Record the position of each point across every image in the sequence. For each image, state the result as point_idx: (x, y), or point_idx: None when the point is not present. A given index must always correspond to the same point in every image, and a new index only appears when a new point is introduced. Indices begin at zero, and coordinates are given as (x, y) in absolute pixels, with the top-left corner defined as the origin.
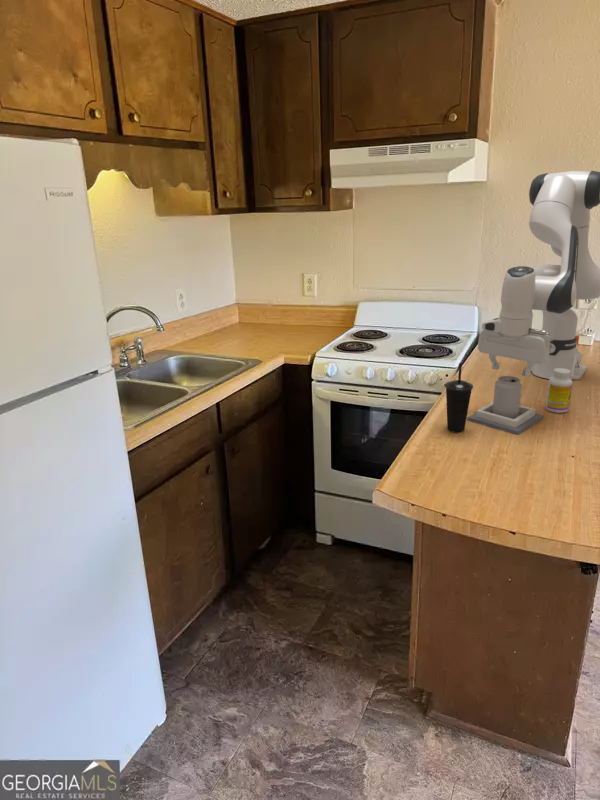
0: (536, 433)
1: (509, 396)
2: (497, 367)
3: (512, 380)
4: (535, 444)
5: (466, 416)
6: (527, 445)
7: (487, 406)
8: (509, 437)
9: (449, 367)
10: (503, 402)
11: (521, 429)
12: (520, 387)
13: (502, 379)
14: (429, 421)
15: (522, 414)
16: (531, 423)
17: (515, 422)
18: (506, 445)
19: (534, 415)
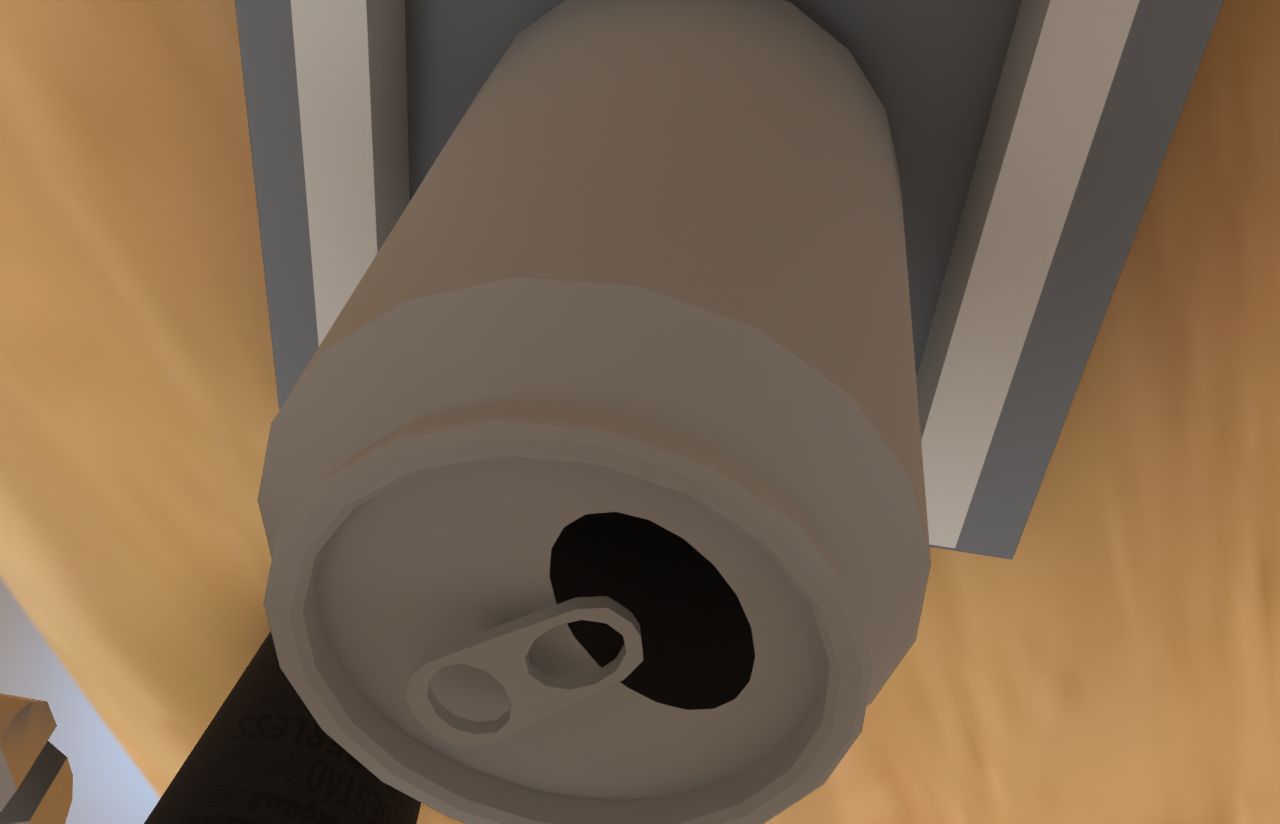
0: (1239, 390)
1: (749, 628)
2: (18, 787)
3: (546, 280)
4: (1251, 655)
5: (409, 808)
6: (1164, 703)
7: (349, 219)
8: (931, 617)
9: None
10: (667, 544)
11: (1038, 487)
12: (917, 620)
13: (392, 624)
14: (39, 611)
15: (985, 269)
16: (1140, 207)
17: (949, 537)
18: (953, 769)
19: None
